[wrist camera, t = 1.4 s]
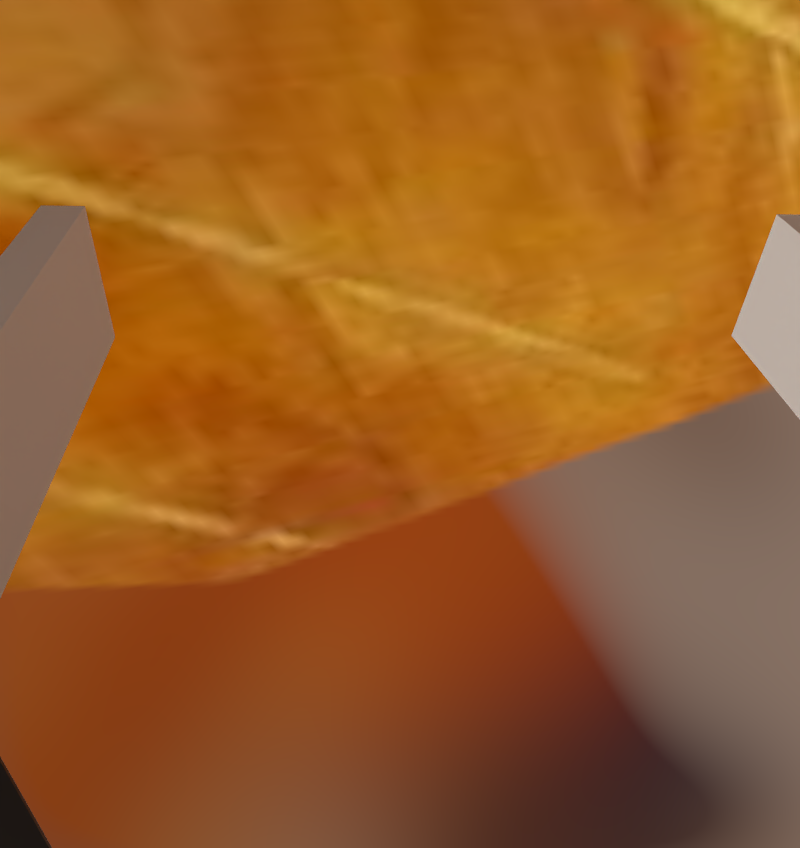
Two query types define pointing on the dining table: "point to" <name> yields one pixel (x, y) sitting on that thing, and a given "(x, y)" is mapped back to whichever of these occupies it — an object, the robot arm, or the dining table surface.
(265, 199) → the dining table surface
